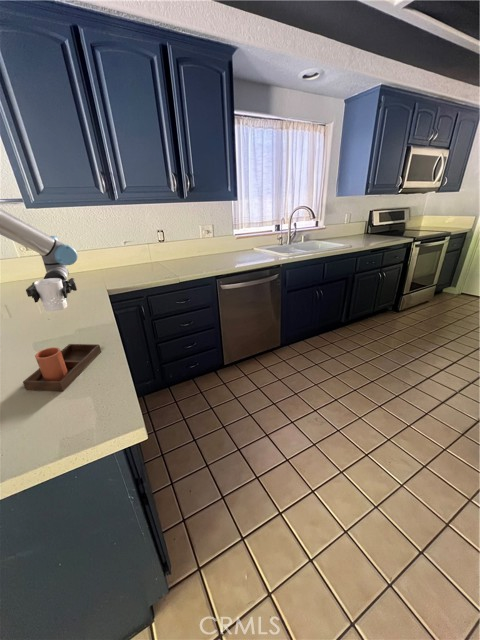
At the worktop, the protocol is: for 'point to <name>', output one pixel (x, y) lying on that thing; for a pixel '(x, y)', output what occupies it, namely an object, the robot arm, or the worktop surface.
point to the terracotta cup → (51, 364)
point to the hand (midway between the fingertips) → (50, 296)
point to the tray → (75, 363)
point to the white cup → (51, 294)
